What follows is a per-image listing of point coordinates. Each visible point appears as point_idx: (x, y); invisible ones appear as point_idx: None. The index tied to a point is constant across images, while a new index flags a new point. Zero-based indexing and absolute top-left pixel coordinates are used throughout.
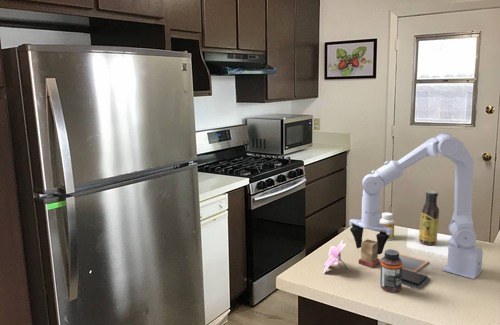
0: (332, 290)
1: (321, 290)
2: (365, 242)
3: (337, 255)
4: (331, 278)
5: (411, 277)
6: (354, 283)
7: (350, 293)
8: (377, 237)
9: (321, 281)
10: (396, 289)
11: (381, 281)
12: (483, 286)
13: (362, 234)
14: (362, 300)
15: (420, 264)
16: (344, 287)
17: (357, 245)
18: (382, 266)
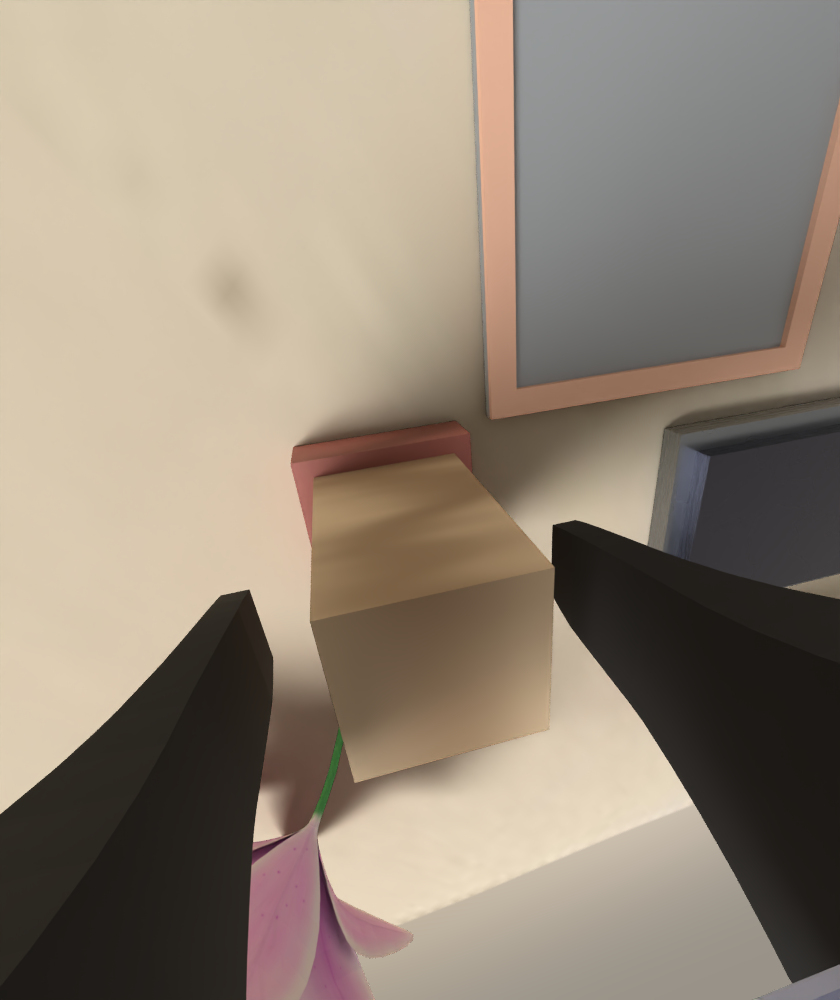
0: (472, 874)
1: (436, 905)
2: (401, 738)
3: (266, 871)
4: (376, 834)
5: (813, 529)
6: (510, 774)
7: (552, 831)
8: (777, 914)
9: (366, 880)
10: None
11: None
12: None
13: (166, 740)
14: (623, 821)
15: (825, 100)
16: (496, 827)
17: (263, 710)
18: None
